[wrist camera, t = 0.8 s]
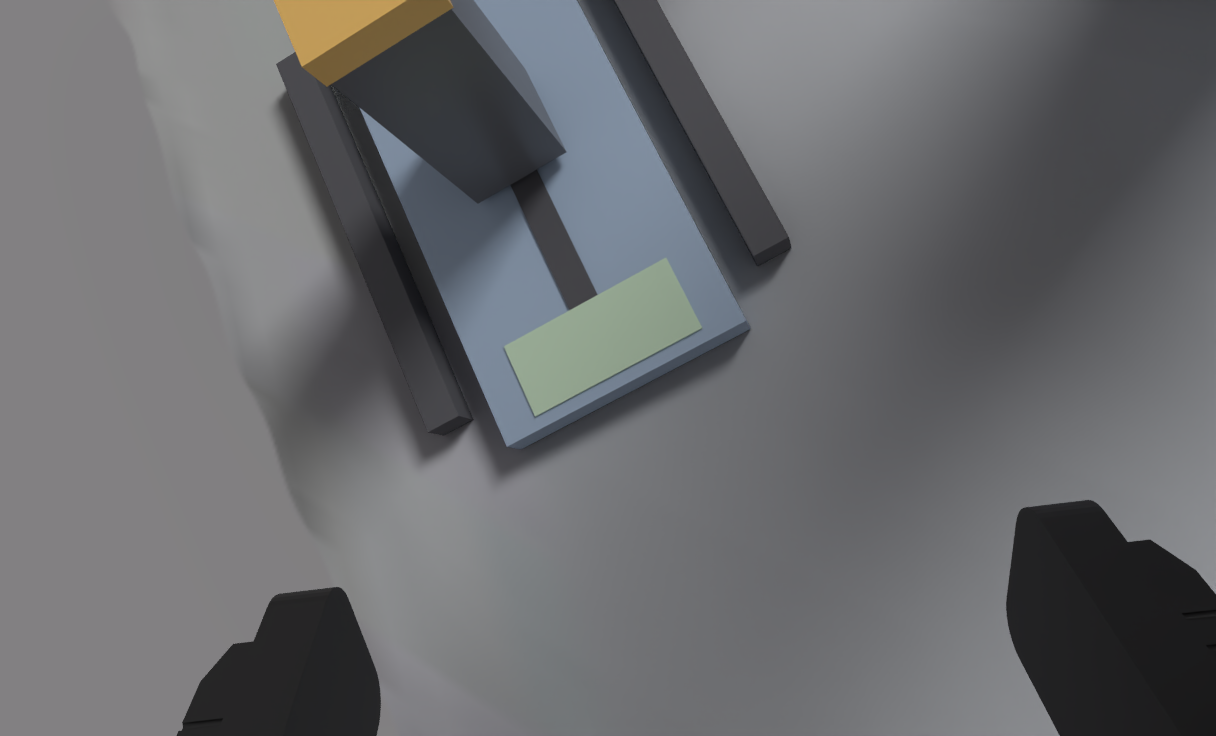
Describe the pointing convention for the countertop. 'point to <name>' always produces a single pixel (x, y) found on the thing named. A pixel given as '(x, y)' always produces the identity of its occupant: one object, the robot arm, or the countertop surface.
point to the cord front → (706, 129)
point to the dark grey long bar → (377, 251)
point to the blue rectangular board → (567, 244)
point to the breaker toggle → (430, 83)
